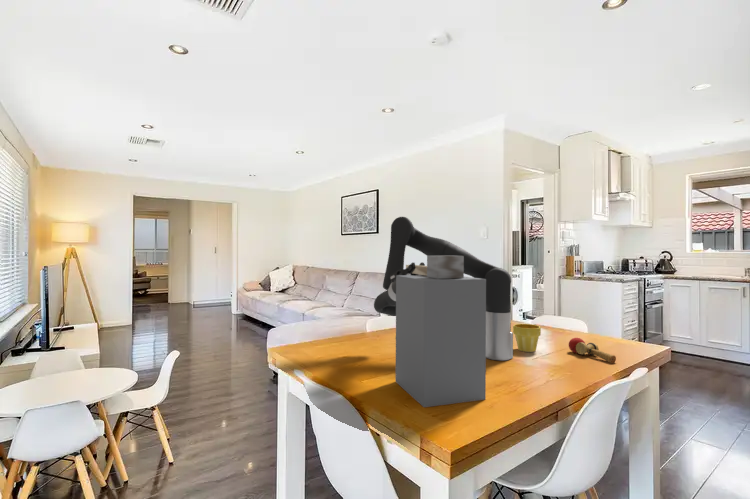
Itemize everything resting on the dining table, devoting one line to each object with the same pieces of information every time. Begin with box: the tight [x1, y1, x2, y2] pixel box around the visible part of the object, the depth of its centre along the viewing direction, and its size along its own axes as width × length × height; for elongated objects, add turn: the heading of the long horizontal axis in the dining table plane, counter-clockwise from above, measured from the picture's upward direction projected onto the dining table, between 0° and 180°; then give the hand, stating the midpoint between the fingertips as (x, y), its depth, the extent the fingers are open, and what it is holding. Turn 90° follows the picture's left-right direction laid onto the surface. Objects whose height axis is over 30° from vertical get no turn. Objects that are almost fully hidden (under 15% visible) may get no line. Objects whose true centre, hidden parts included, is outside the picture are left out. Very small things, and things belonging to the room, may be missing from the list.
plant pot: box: [512, 323, 542, 353], centre depth 154 cm, size 10×10×10 cm
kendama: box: [568, 337, 617, 364], centre depth 145 cm, size 8×6×18 cm
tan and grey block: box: [405, 255, 465, 279], centre depth 116 cm, size 8×28×6 cm, turn 18°
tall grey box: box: [395, 275, 487, 408], centre depth 109 cm, size 18×20×32 cm
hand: (418, 265), depth 122 cm, fingers closed on tan and grey block, 2 cm apart
